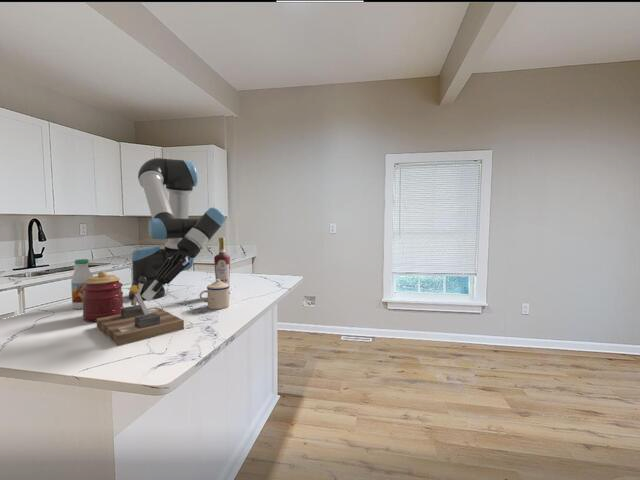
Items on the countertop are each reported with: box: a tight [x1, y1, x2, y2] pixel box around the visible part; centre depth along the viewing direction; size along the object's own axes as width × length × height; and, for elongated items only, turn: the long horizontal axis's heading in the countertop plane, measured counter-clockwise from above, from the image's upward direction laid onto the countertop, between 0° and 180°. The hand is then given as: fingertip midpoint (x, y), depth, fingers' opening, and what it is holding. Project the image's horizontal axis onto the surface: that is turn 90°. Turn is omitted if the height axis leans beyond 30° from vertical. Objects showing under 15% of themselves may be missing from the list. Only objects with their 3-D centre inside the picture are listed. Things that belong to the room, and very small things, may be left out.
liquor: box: [213, 237, 231, 295], centre depth 156 cm, size 7×7×28 cm
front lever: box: [129, 285, 149, 315], centre depth 106 cm, size 3×3×11 cm
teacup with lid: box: [199, 279, 230, 310], centre depth 139 cm, size 12×9×12 cm
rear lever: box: [130, 276, 147, 306], centre depth 119 cm, size 3×3×11 cm
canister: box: [81, 270, 124, 323], centre depth 125 cm, size 13×13×18 cm
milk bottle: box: [70, 258, 93, 310], centre depth 137 cm, size 8×8×20 cm
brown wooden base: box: [96, 304, 185, 347], centre depth 113 cm, size 23×20×6 cm
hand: (145, 298), depth 107 cm, fingers closed
